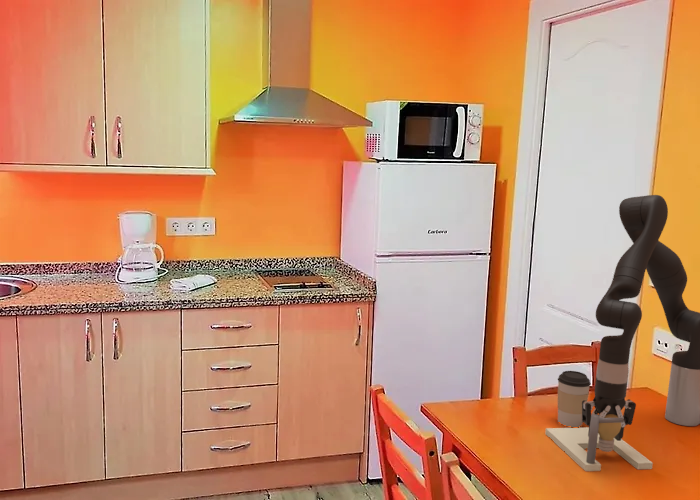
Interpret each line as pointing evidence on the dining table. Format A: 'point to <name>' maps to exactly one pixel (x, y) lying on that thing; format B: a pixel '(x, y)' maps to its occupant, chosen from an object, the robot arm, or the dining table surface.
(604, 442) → the light bulb
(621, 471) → the dining table surface
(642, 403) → the dining table surface
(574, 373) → the coffee cup
